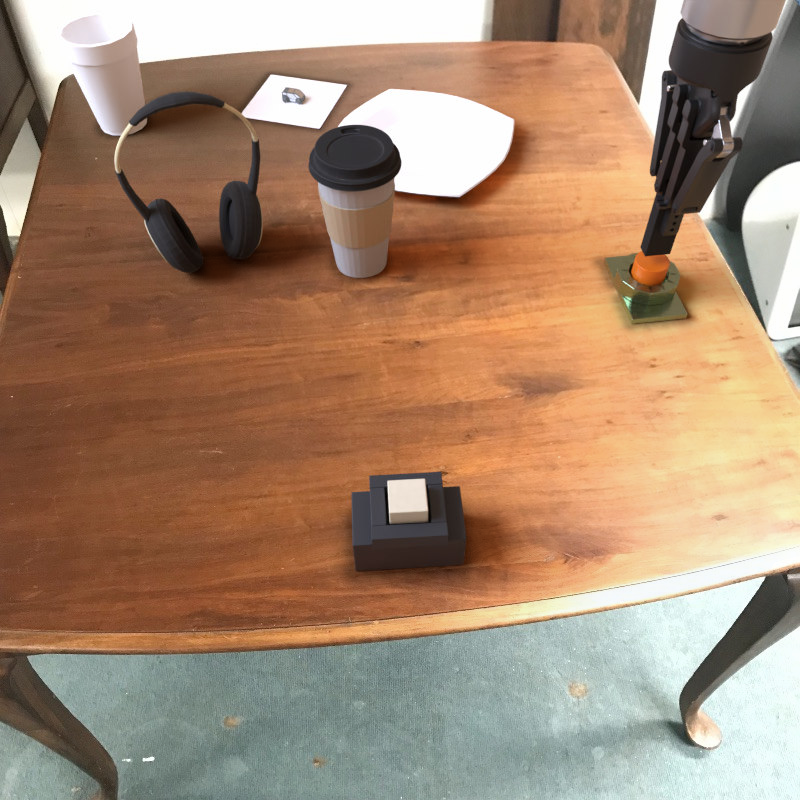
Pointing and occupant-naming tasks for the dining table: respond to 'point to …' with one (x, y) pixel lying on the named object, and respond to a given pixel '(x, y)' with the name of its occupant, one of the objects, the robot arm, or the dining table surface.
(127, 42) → the foam cup
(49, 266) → the dining table surface
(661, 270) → the round orange push button
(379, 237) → the coffee cup
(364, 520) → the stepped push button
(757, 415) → the dining table surface
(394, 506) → the key
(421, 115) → the plate
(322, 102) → the white square card
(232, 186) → the headphones
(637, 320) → the switch block
